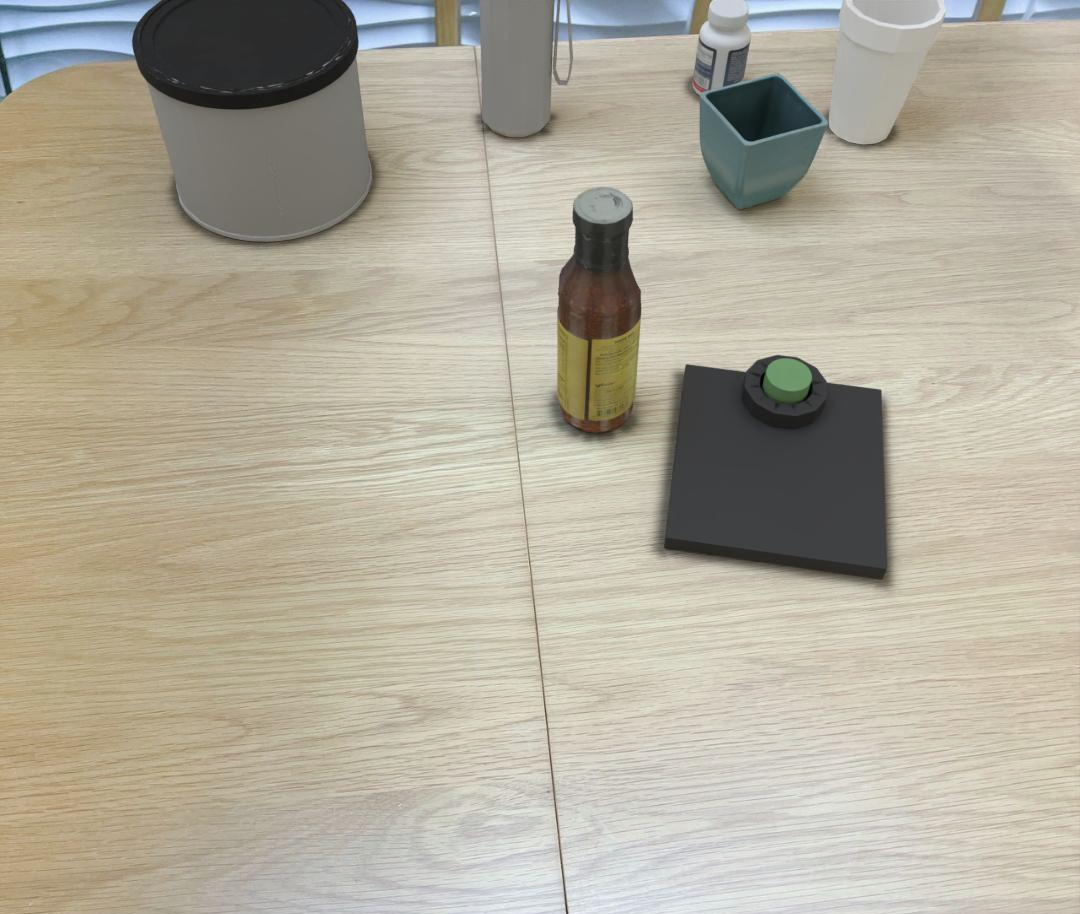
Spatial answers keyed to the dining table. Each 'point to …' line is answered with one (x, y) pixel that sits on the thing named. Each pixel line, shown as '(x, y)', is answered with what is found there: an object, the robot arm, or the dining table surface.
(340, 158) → the container
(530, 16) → the water bottle
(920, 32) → the foam cup
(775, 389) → the tare button
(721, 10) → the pill bottle
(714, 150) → the flower pot
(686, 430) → the scale
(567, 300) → the sauce bottle
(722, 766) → the dining table surface
